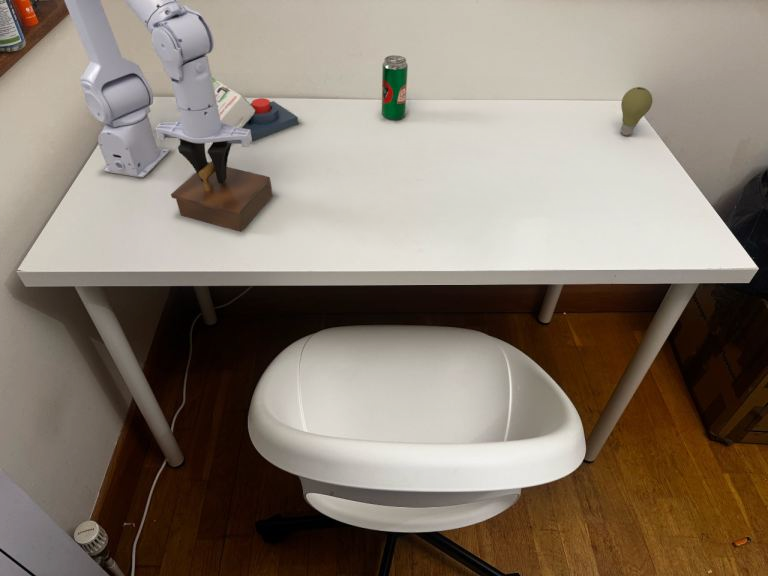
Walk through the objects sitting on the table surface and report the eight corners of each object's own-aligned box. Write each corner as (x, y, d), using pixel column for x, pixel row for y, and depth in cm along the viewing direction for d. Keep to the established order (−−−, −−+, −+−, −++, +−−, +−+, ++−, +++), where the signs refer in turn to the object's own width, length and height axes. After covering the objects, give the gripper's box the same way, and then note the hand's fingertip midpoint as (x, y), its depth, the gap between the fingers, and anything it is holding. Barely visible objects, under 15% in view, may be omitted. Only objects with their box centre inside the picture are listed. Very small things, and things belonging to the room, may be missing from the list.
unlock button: (259, 116, 113) (257, 108, 112) (249, 109, 115) (248, 101, 113) (274, 110, 114) (273, 102, 113) (264, 104, 116) (263, 96, 115)
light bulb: (616, 141, 114) (632, 94, 107) (607, 128, 118) (622, 81, 111) (643, 141, 114) (661, 94, 107) (633, 128, 118) (650, 82, 111)
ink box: (209, 74, 114) (242, 94, 108) (224, 91, 118) (257, 111, 112) (182, 106, 113) (214, 128, 107) (198, 121, 117) (229, 143, 111)
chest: (180, 215, 94) (175, 199, 92) (215, 182, 101) (212, 166, 99) (241, 231, 92) (237, 215, 89) (272, 196, 99) (270, 180, 96)
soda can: (401, 122, 118) (404, 66, 110) (378, 119, 119) (379, 62, 111) (407, 111, 122) (410, 56, 113) (385, 108, 123) (386, 52, 114)
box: (252, 141, 112) (249, 125, 109) (229, 124, 117) (226, 108, 114) (298, 124, 117) (296, 108, 115) (274, 108, 122) (272, 92, 119)
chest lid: (171, 197, 92) (164, 173, 89) (208, 165, 99) (202, 141, 96) (237, 215, 89) (232, 191, 86) (270, 180, 96) (267, 156, 93)
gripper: (251, 93, 86) (263, 169, 96) (160, 86, 87) (181, 162, 97) (237, 115, 81) (251, 193, 91) (141, 107, 82) (164, 186, 92)
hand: (214, 179), depth 93 cm, fingers closed on chest lid, 2 cm apart
